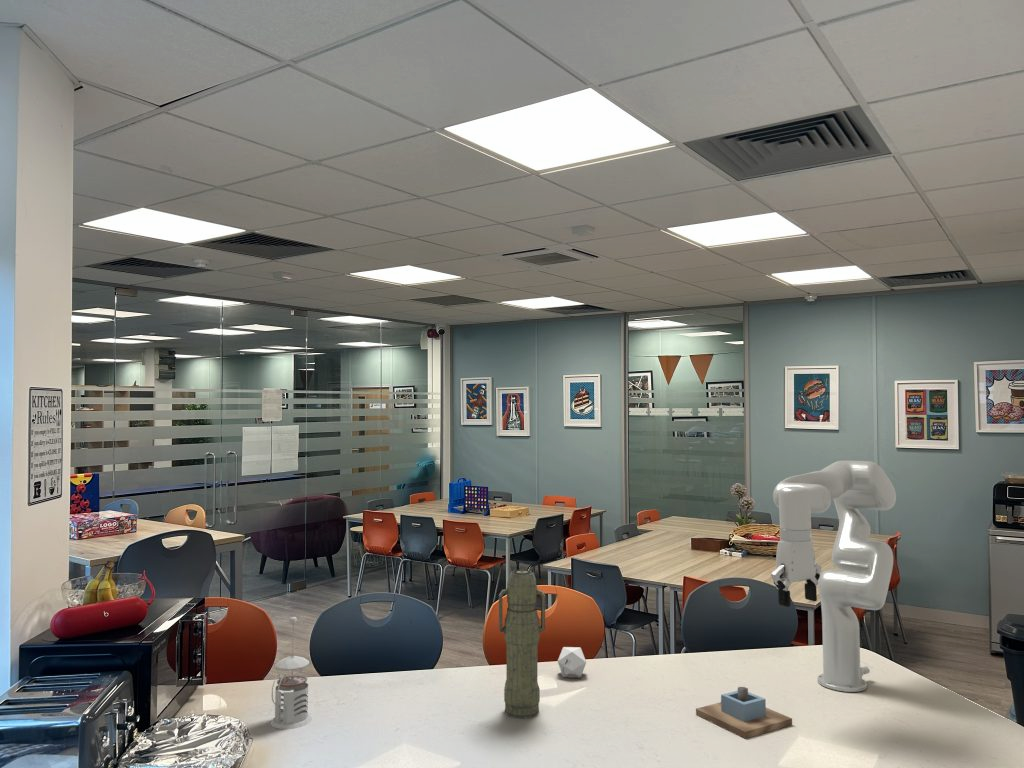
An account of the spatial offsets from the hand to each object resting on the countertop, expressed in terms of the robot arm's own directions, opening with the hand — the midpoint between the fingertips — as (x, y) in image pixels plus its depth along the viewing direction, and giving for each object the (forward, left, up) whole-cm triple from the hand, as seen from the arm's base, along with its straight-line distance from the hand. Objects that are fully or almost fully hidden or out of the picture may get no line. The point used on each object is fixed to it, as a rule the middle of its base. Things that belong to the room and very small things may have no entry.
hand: (797, 602), depth 185 cm
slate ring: (+16, -4, -26) cm, 31 cm away
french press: (+114, -57, -27) cm, 131 cm away
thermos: (+61, -35, -27) cm, 76 cm away
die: (+35, -51, -28) cm, 68 cm away
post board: (+16, -4, -27) cm, 32 cm away
